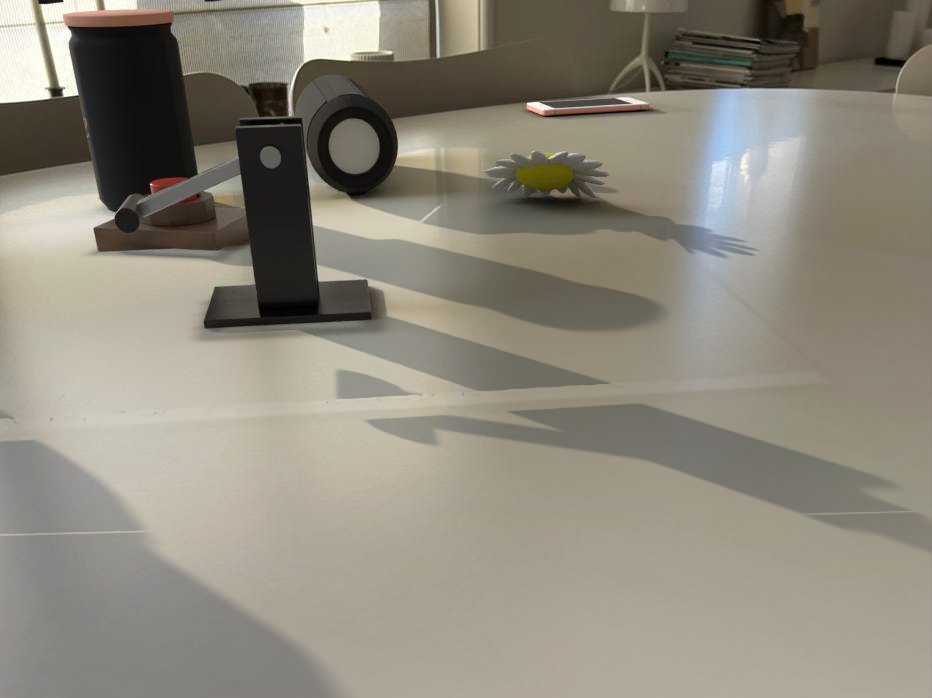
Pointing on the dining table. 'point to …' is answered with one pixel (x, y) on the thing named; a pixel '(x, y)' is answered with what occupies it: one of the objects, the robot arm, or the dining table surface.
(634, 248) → the dining table surface
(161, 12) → the coffee jar
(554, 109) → the cell phone
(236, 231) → the button box
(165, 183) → the button
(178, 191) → the lever
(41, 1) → the robot arm
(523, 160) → the decorative flower
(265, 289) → the bracket
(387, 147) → the portable speaker
